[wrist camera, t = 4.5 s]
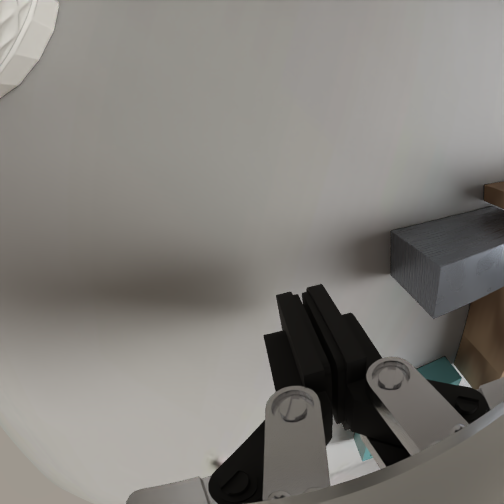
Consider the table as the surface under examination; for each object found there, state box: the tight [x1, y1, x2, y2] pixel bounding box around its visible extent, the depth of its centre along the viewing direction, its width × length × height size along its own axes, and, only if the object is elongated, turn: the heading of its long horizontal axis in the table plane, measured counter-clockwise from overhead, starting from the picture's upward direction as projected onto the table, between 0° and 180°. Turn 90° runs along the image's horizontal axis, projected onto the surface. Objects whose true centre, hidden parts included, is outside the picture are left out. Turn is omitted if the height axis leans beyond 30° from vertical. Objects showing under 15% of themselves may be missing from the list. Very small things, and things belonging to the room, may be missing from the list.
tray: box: [354, 356, 462, 461], centre depth 17 cm, size 7×7×2 cm
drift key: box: [391, 206, 504, 319], centre depth 11 cm, size 2×8×4 cm, turn 102°
